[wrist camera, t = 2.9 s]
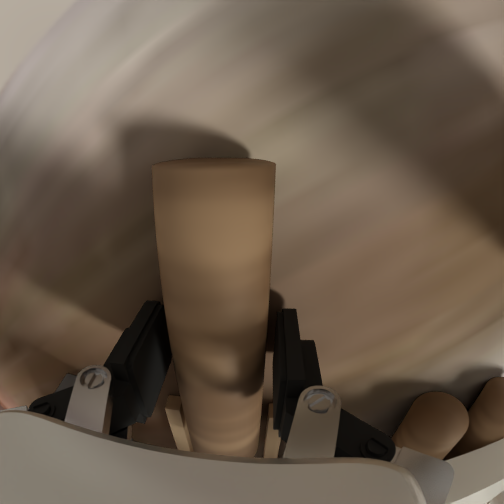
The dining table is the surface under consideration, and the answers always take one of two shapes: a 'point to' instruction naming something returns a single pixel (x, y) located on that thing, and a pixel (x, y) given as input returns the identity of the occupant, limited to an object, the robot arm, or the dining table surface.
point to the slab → (477, 475)
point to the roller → (217, 292)
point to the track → (406, 424)
